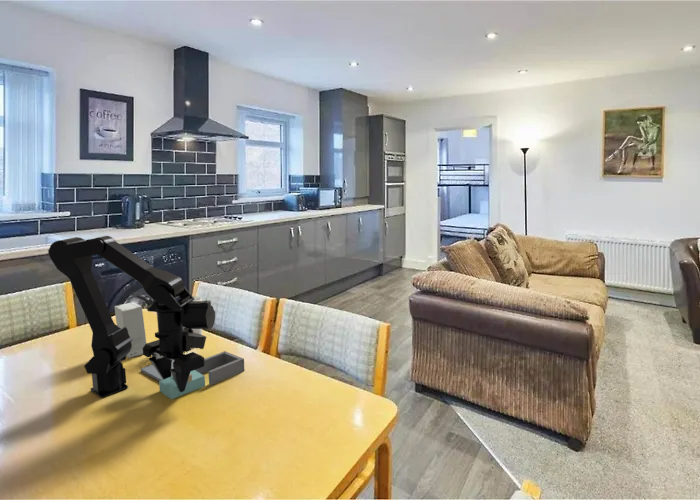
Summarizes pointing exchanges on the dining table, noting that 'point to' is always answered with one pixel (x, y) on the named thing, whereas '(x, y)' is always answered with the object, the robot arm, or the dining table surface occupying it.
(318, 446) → the dining table surface
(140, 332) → the skincare box
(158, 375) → the mat
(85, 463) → the dining table surface
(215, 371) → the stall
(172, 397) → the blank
